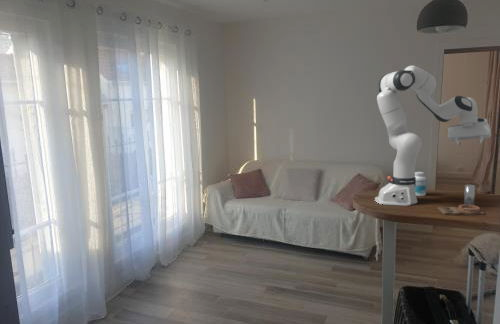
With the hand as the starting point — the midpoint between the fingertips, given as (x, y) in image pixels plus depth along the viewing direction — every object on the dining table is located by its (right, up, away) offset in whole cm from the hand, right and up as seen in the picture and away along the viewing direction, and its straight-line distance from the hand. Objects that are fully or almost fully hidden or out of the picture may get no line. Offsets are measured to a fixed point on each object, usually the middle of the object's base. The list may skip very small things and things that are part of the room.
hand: (469, 145), depth 197 cm
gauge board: (-13, -34, -14) cm, 39 cm away
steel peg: (-3, -32, -5) cm, 33 cm away
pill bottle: (-17, -29, +21) cm, 40 cm away
